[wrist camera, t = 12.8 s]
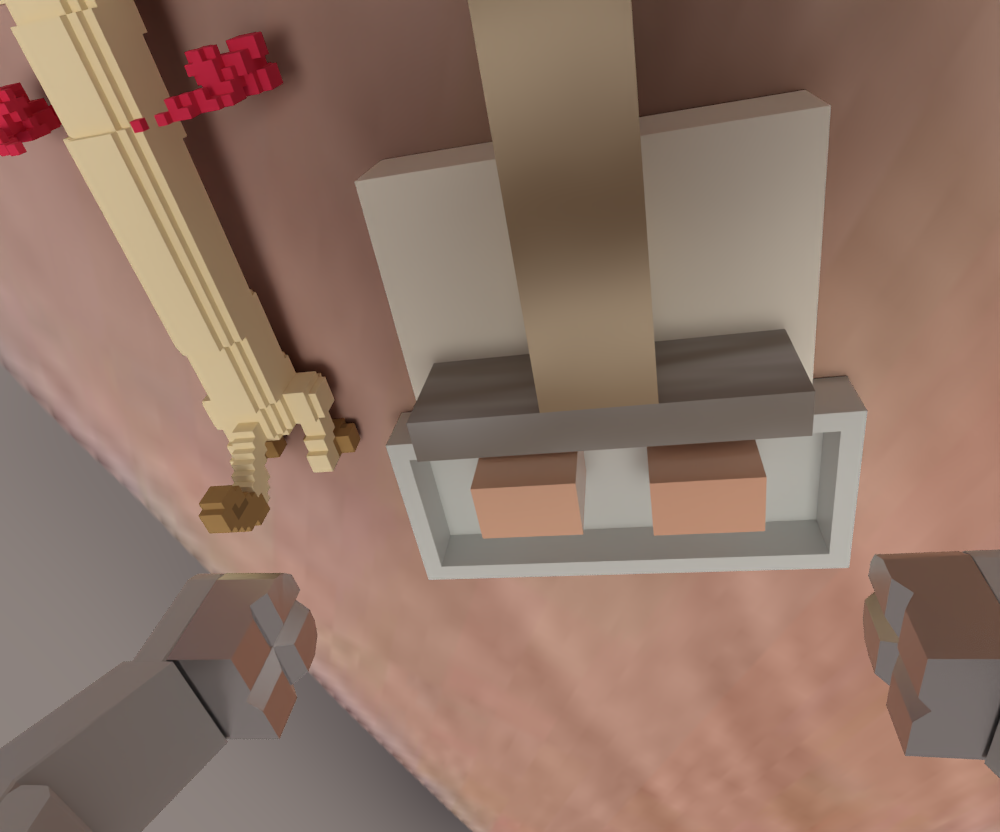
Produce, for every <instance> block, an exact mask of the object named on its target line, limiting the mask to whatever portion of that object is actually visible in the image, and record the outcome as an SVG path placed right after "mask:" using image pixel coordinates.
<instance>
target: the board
mask: <svg viewBox="0 0 1000 832" xmlns="http://www.w3.org/2000/svg"><path fill="white" fill-rule="evenodd" d="M830 113H831V105H830V104H828V103H826V102H825V101H823V100H821V99H820V98H818V97H816V96H815V95H813V94H811V93H810V92H808V91H806V90H801V91H795V92H789V93H783V94H777V95H771V96H765V97H759V98H752V99H746V100H740V101H734V102H728V103H722V104H716V105H710V106H704V107H698V108H692V109H686V110H680V111H674V112H668V113H662V114H656V115H650V116H644V117H639V122H640V137H641V152H642V166H643V181H644V196H645V210H646V225H647V240H648V254H649V269H650V284H651V298H652V313H653V328H654V342H656V341H666V340H676V339H687V338H697V337H707V336H717V335H728V334H738V333H748V332H758V331H768V330H779V329H785V330H786V332H787V334H788V336H789V338H790V340H791V342H792V344H793V346H794V348H795V350H796V352H797V354H798V356H799V358H800V360H801V362H802V365H803V367H804V369H805V371H806V373H807V375H808V377H809V379H810V381H811V383H812V384H813V368H814V353H815V338H816V323H817V308H818V293H819V278H820V263H821V248H822V233H823V218H824V203H825V188H826V173H827V158H828V143H829V128H830ZM355 185H356V189H357V192H358V196H359V199H360V203H361V207H362V210H363V214H364V217H365V221H366V224H367V228H368V231H369V235H370V239H371V242H372V246H373V249H374V253H375V256H376V260H377V263H378V267H379V270H380V274H381V278H382V281H383V285H384V288H385V292H386V295H387V299H388V302H389V306H390V310H391V313H392V317H393V320H394V324H395V327H396V331H397V334H398V338H399V341H400V345H401V349H402V352H403V356H404V359H405V363H406V366H407V370H408V373H409V377H410V380H411V384H412V388H413V391H414V395H415V398H416V401H417V399H418V397H419V395H420V392H421V390H422V388H423V386H424V384H425V381H426V379H427V377H428V375H429V373H430V370H431V368H432V366H433V364H434V363H441V362H451V361H462V360H472V359H482V358H492V357H503V356H513V355H523V354H529V349H528V343H527V337H526V331H525V326H524V320H523V314H522V309H521V303H520V297H519V291H518V286H517V280H516V274H515V268H514V263H513V257H512V251H511V246H510V240H509V234H508V228H507V223H506V217H505V211H504V206H503V200H502V194H501V188H500V183H499V177H498V171H497V165H496V160H495V154H494V148H493V143H492V142H487V143H481V144H475V145H469V146H463V147H457V148H451V149H445V150H439V151H433V152H427V153H421V154H414V155H408V156H402V157H396V158H390V159H384V160H381V161H379V162H378V163H377V164H376V165H374V166H373V167H372V168H371V169H369V170H368V171H367V172H366V173H364V174H363V175H362V176H361V177H359V178H358V179H357V180H356V181H355Z"/></svg>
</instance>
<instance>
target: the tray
mask: <svg viewBox="0 0 1000 832" xmlns="http://www.w3.org/2000/svg"><path fill="white" fill-rule="evenodd" d="M812 385H813V387H814V389H815V405H814V419H813V433H812V436H801V437H786V438H771V439H756V440H755V441H756V444H757V447H758V450H759V454H760V457H761V460H762V464H763V467H764V470H765V473H766V477H767V484H766V518H765V531H758V532H733V533H708V534H683V535H658V536H654V532H653V520H652V508H651V496H650V483H649V470H648V456H647V447H636V448H620V449H605V450H590V451H584V457H585V465H586V491H585V511H584V530H583V535H560V536H535V537H511V538H486V539H483V537H482V533H481V530H480V526H479V522H478V518H477V514H476V510H475V506H474V502H473V498H472V494H471V490H470V489H471V485H472V481H473V478H474V474H475V471H476V467H477V463H478V460H479V458H470V459H455V460H440V461H425V462H417V458H416V455H415V451H414V448H413V445H412V441H411V438H410V435H409V431H408V428H407V424H406V423H407V421H408V419H409V416H410V414H411V412H405V413H401V415H400V417H399V419H398V421H397V423H396V425H395V427H394V429H393V432H392V434H391V436H390V438H389V440H388V442H387V444H386V448H387V451H388V454H389V457H390V460H391V464H392V467H393V470H394V473H395V476H396V479H397V482H398V485H399V489H400V492H401V495H402V498H403V501H404V504H405V507H406V510H407V513H408V517H409V520H410V523H411V526H412V529H413V532H414V535H415V538H416V541H417V545H418V548H419V551H420V554H421V557H422V560H423V563H424V566H425V569H426V573H427V576H428V579H429V580H437V579H473V578H508V577H543V576H578V575H613V574H648V573H683V572H719V571H754V570H789V569H824V568H849V564H850V555H851V546H852V538H853V529H854V521H855V512H856V504H857V495H858V487H859V478H860V470H861V461H862V452H863V444H864V435H865V427H866V418H867V409H866V408H865V406H864V404H863V402H862V401H861V399H860V397H859V396H858V394H857V392H856V390H855V389H854V387H853V385H852V384H851V382H850V380H849V378H848V377H847V376H841V377H828V378H816V379H813V384H812Z"/></svg>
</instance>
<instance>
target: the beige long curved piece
mask: <svg viewBox="0 0 1000 832" xmlns="http://www.w3.org/2000/svg"><path fill="white" fill-rule="evenodd" d="M3 4H6V5H7V7H8V9H9V11H10V13H11V15H12V17H13V19H14V21H15V22H16V24H17V26H15V27H11V30H12V32H13V34H14V36H15V38H16V39H17V41H18V43H19V45H20V47H21V49H22V51H23V52H24V54H25V56H26V58H27V60H28V62H29V64H30V65H31V67H32V69H33V71H34V73H35V75H36V77H37V78H38V80H39V82H40V84H41V86H42V88H43V90H44V91H45V93H46V95H47V97H48V99H49V101H50V103H51V104H52V105H50V106H48V105H47V103H46V101H45V99H44V98H41V99H37V100H32V101H30V100H29V98H28V96H27V94H26V93H25V91H24V89H23V87H22V85H21V83H15V84H11V85H6V86H3V87H0V155H1V156H6V155H11V156H16V155H21V154H23V153H25V152H27V151H26V149H25V148H24V146H23V144H22V142H28V141H33V140H35V139H38V138H40V137H42V136H44V135H47V134H49V133H51V131H52V130H54V129H56V128H58V127H61V126H60V125H61V124H62V125H63V127H64V129H65V131H66V132H67V134H68V136H69V137H67V138H65V139H63V141H64V143H65V145H66V146H67V148H68V150H69V152H70V154H71V156H72V157H73V159H74V161H75V163H76V165H77V167H78V168H79V170H80V172H81V174H82V176H83V178H84V180H85V181H86V183H87V185H88V187H89V189H90V191H91V192H92V194H93V196H94V198H95V200H96V202H97V203H98V205H99V207H100V209H101V211H102V213H103V214H104V216H105V218H106V220H107V222H108V224H109V225H110V227H111V229H112V231H113V233H114V235H115V236H116V238H117V240H118V242H119V244H120V246H121V248H122V249H123V251H124V253H125V255H126V257H127V259H128V260H129V262H130V264H131V266H132V268H133V270H134V271H135V273H136V275H137V277H138V279H139V281H140V282H141V284H142V286H143V288H144V290H145V292H146V293H147V295H148V297H149V299H150V301H151V303H152V305H153V306H154V308H155V310H156V312H157V314H158V316H159V317H160V319H161V321H162V323H163V325H164V327H165V328H166V330H167V332H168V334H169V336H170V338H171V339H172V341H173V343H174V345H175V347H176V348H178V350H179V352H181V353H182V355H183V356H185V355H186V356H187V357H188V359H189V361H190V363H191V365H192V367H193V369H194V370H195V372H196V374H197V376H198V378H199V380H200V382H201V383H202V385H203V387H204V389H205V391H206V393H207V396H206V397H205V398H204V400H203V401H202V402H203V403H202V404H203V406H204V408H205V410H206V411H207V413H208V415H209V417H210V419H211V421H212V422H213V424H214V426H216V428H217V430H223V431H224V432H225V434H226V436H227V438H228V440H229V444H228V445H227V448H228V450H229V452H230V453H231V455H232V459H231V460H230V464H231V466H232V468H233V469H234V473H233V474H232V476H231V477H232V479H233V481H234V484H233V485H227V486H211V487H210V488H209V489H208V491H207V492H206V494H205V495H204V497H203V498H202V500H201V501H200V503H199V505H200V507H201V508H202V511H201V513H200V514H199V517H200V519H201V521H202V522H203V524H204V525H205V527H206V529H207V530H208V532H209V533H230V532H247V531H252V530H253V528H254V526H255V525H262V523H263V521H264V519H265V517H266V515H267V513H268V512H269V510H270V508H269V506H268V504H267V503H268V501H269V499H270V497H269V495H268V493H267V492H268V490H269V488H270V486H269V484H268V482H267V481H268V480H269V478H270V475H269V473H268V471H267V470H266V468H265V466H264V465H265V464H266V462H267V458H274V457H280V456H281V454H282V452H283V450H284V449H285V447H286V445H287V443H286V441H285V439H284V437H283V435H289V434H290V433H291V431H292V429H293V428H294V426H295V425H296V424H301V426H302V428H303V430H304V433H305V437H304V439H303V440H304V443H305V445H306V447H307V449H308V451H309V452H308V454H307V456H306V457H307V459H308V461H309V463H310V466H311V468H312V470H313V472H330V471H334V469H335V466H336V464H337V462H338V460H339V458H340V456H341V454H342V453H348V452H355V450H356V448H357V446H358V443H359V441H360V436H359V434H358V431H357V429H356V426H355V424H354V423H348V424H346V421H345V418H339V419H331V416H330V414H329V412H328V411H329V409H330V408H331V406H332V404H333V402H334V397H333V395H332V393H331V390H330V388H329V385H328V383H327V380H326V378H325V377H322V375H321V373H316V371H313V372H302V373H296V372H295V370H294V368H293V365H292V363H291V361H290V359H289V356H288V355H285V353H284V352H282V351H281V348H280V346H279V344H278V341H277V339H276V337H275V335H274V332H273V330H272V328H271V326H270V323H269V321H268V319H267V316H266V314H265V312H264V310H263V307H262V305H261V303H260V301H259V298H258V296H257V294H256V292H253V291H252V289H249V287H248V284H247V282H246V280H245V278H244V275H243V273H242V271H241V269H240V266H239V264H238V262H237V260H236V257H235V255H234V253H233V251H232V248H231V246H230V244H229V242H228V239H227V237H226V235H225V233H224V230H223V228H222V226H221V224H220V221H219V219H218V217H217V215H216V212H215V210H214V208H213V206H212V203H211V201H210V199H209V197H208V194H207V192H206V190H205V188H204V185H203V183H202V181H201V179H200V176H199V174H198V172H197V170H196V167H195V165H194V163H193V161H192V158H191V156H190V154H189V152H188V149H187V147H186V145H185V143H184V140H183V138H185V137H186V136H187V134H186V132H185V130H184V128H183V125H182V123H181V121H182V120H188V119H192V118H194V117H196V116H198V115H199V114H201V113H205V112H211V111H216V110H221V109H222V108H224V107H228V106H233V105H235V104H237V103H239V102H240V101H242V100H244V99H246V98H247V97H246V96H250V95H256V94H260V93H262V92H263V91H268V90H273V89H274V88H276V87H278V86H279V85H281V84H283V80H282V77H281V75H280V72H279V69H278V66H277V63H276V62H275V63H271V62H270V63H267V61H266V58H265V55H267V54H269V53H268V50H267V47H266V44H265V41H264V38H263V35H262V33H261V32H257V33H256V32H253V33H249V34H244V35H239V36H236V37H234V38H232V39H229V40H227V41H226V43H227V46H228V48H229V51H230V52H227V53H223V54H220V52H219V49H218V47H217V45H208V46H203V47H201V48H198V49H193V50H189V51H186V52H184V53H185V55H186V58H187V60H188V62H189V64H187V65H185V66H184V67H185V69H186V72H187V74H188V77H191V76H194V77H195V79H196V82H197V84H198V86H199V85H202V87H203V88H198V89H196V90H194V91H190V92H185V93H182V94H180V95H178V96H173V97H170V96H169V94H168V91H167V89H166V87H165V84H164V82H163V80H162V78H161V75H160V73H159V71H158V69H157V66H156V64H155V62H154V59H153V57H152V55H151V53H150V50H149V48H148V46H147V44H146V41H145V39H144V37H143V34H144V33H147V30H146V28H145V25H144V23H143V21H142V18H141V16H140V14H139V12H138V9H137V7H136V5H135V2H134V0H0V5H3Z"/></svg>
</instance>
